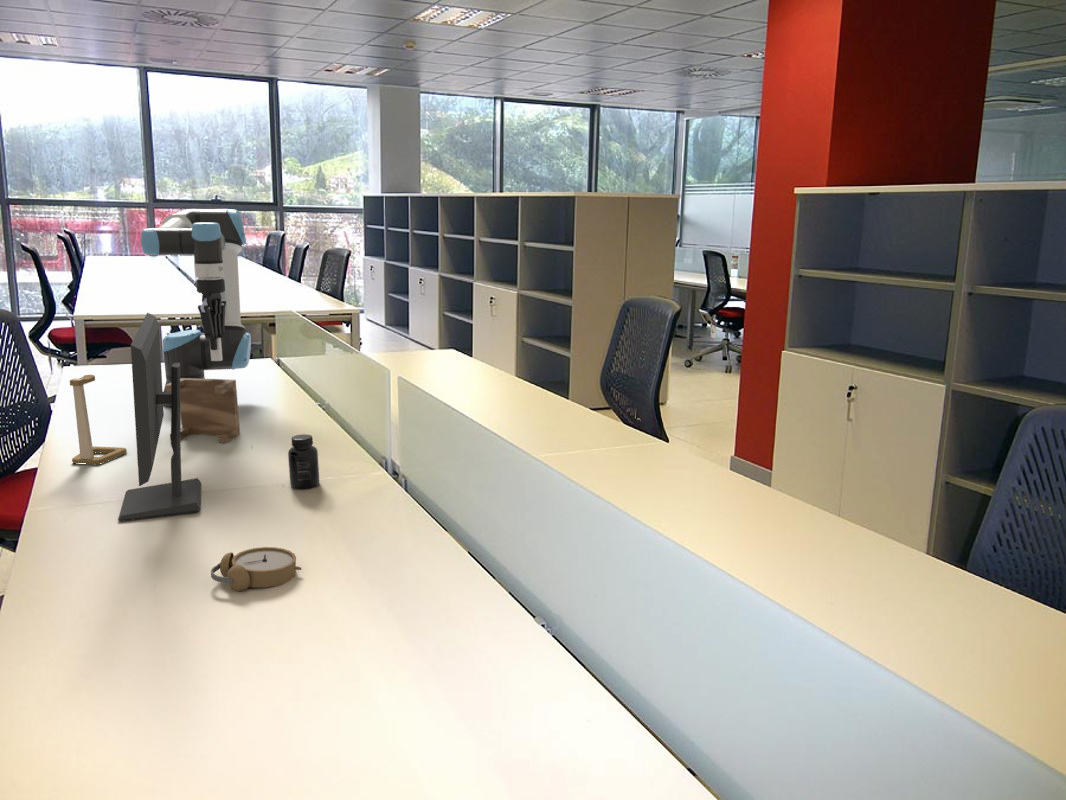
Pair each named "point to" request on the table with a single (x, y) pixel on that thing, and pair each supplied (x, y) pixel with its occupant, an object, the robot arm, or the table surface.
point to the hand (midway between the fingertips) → (216, 360)
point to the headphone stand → (88, 428)
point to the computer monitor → (156, 432)
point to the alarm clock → (256, 568)
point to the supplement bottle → (303, 462)
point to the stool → (208, 407)
